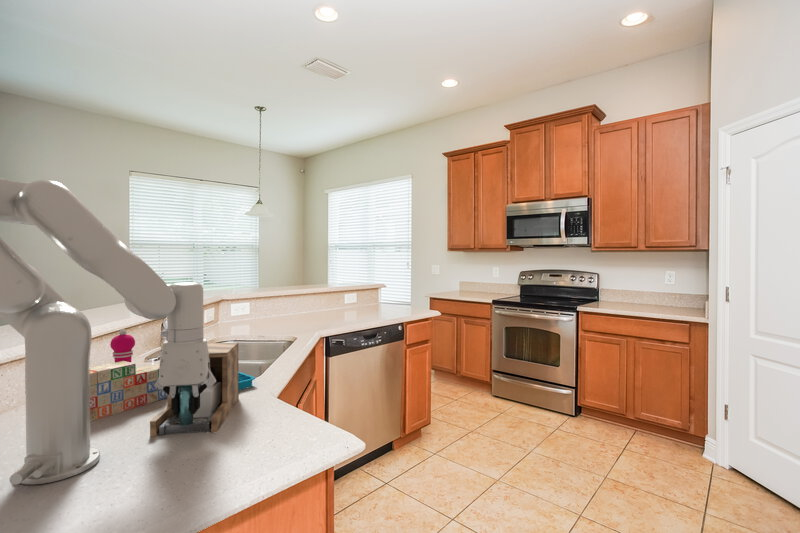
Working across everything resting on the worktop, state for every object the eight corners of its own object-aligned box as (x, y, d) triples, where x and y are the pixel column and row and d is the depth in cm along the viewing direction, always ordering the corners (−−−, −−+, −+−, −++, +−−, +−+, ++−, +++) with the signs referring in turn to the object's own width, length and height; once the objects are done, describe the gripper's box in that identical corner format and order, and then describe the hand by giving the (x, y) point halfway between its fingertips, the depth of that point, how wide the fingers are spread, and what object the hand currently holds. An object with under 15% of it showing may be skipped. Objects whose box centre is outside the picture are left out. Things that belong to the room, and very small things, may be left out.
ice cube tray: (225, 375, 141) (225, 367, 141) (257, 387, 129) (257, 377, 129) (191, 383, 132) (191, 374, 132) (221, 396, 120) (221, 386, 120)
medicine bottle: (195, 408, 110) (194, 364, 109) (222, 407, 110) (221, 364, 110) (182, 418, 102) (182, 371, 102) (211, 417, 103) (211, 371, 103)
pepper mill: (142, 395, 119) (142, 328, 119) (115, 402, 113) (114, 332, 113) (130, 391, 123) (130, 326, 123) (103, 398, 117) (103, 329, 117)
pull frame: (208, 432, 94) (208, 386, 94) (158, 436, 92) (158, 388, 92) (227, 404, 112) (227, 365, 112) (186, 407, 110) (186, 367, 110)
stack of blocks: (157, 394, 121) (156, 353, 121) (169, 397, 118) (168, 356, 118) (71, 418, 102) (71, 370, 102) (83, 423, 99) (82, 374, 99)
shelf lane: (216, 432, 94) (216, 362, 94) (150, 436, 92) (149, 365, 92) (238, 398, 117) (238, 342, 117) (185, 401, 115) (185, 344, 114)
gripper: (140, 339, 89) (140, 421, 89) (218, 337, 92) (218, 416, 92) (154, 333, 96) (154, 409, 97) (226, 331, 99) (226, 404, 100)
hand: (186, 411), depth 95 cm, fingers closed on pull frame, 3 cm apart
